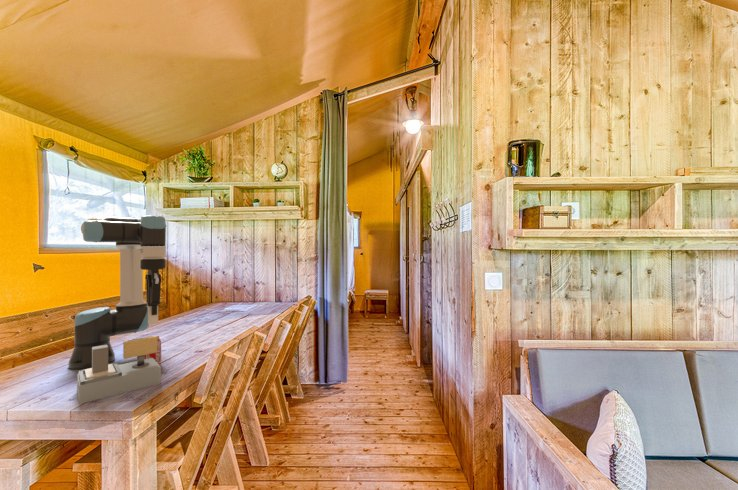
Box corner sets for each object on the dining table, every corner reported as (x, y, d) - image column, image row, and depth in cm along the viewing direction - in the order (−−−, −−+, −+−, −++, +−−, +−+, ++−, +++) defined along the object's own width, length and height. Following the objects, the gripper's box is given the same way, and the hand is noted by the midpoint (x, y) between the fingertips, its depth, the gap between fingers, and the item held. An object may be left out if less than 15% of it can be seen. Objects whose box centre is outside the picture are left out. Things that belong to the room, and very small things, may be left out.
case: (77, 390, 109) (77, 370, 109) (152, 372, 124) (152, 355, 124) (79, 404, 99) (79, 382, 99) (161, 383, 114) (161, 364, 114)
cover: (84, 373, 108) (84, 346, 109) (112, 367, 114) (112, 341, 114) (86, 382, 101) (86, 353, 102) (115, 375, 107) (115, 347, 107)
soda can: (150, 370, 127) (150, 340, 127) (136, 368, 128) (136, 339, 129) (165, 363, 134) (165, 335, 134) (151, 362, 135) (151, 334, 136)
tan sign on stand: (123, 367, 113) (123, 340, 113) (156, 360, 120) (156, 335, 120) (124, 369, 111) (124, 342, 112) (157, 362, 118) (157, 336, 119)
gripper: (137, 258, 115) (136, 322, 115) (144, 259, 105) (144, 328, 105) (160, 257, 121) (160, 318, 120) (170, 258, 111) (170, 324, 110)
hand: (153, 323), depth 113 cm, fingers closed
